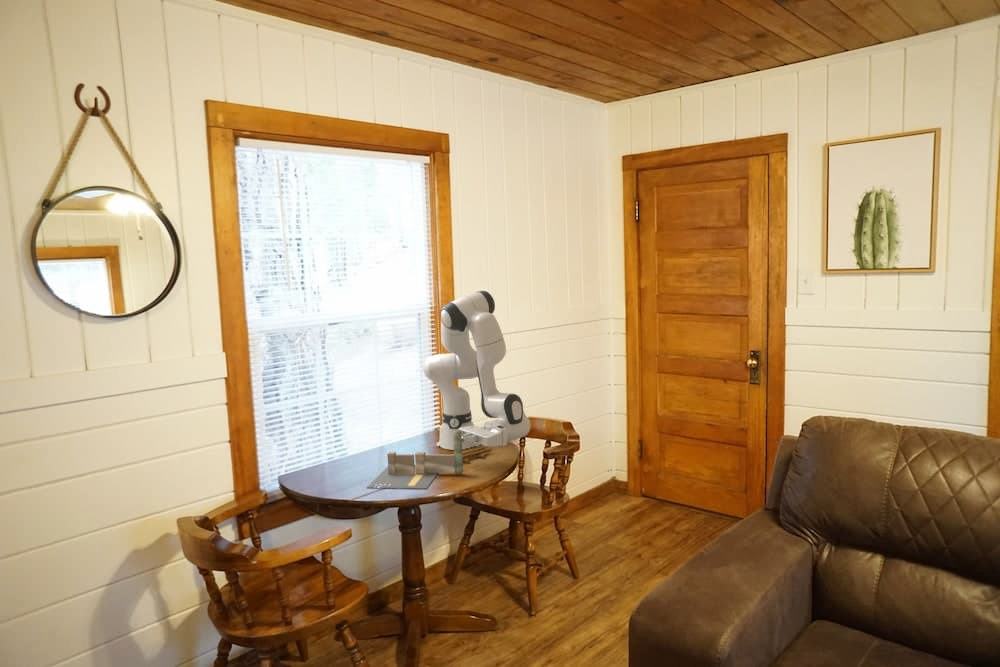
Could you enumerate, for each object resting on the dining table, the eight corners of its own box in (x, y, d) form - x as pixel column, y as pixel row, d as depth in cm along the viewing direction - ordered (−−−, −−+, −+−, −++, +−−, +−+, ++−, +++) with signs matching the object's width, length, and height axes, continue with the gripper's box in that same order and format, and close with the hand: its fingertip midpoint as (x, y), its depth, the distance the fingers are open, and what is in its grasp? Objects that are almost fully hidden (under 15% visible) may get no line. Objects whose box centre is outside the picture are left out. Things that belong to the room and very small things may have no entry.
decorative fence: (429, 463, 252) (446, 468, 245) (429, 458, 252) (446, 463, 245) (478, 450, 270) (495, 455, 263) (478, 445, 270) (495, 450, 263)
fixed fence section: (390, 471, 245) (389, 451, 244) (415, 472, 243) (414, 452, 242) (388, 473, 242) (387, 453, 241) (413, 474, 241) (412, 453, 240)
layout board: (389, 465, 254) (389, 464, 254) (443, 466, 251) (443, 464, 251) (366, 488, 228) (366, 487, 228) (426, 489, 225) (426, 487, 225)
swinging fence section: (418, 471, 243) (416, 430, 242) (463, 471, 241) (462, 430, 239) (416, 473, 240) (413, 432, 239) (462, 474, 238) (460, 432, 236)
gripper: (476, 420, 256) (445, 426, 247) (508, 429, 239) (477, 436, 231) (476, 436, 256) (446, 442, 248) (509, 446, 240) (478, 453, 232)
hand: (461, 439), depth 240 cm, fingers closed
